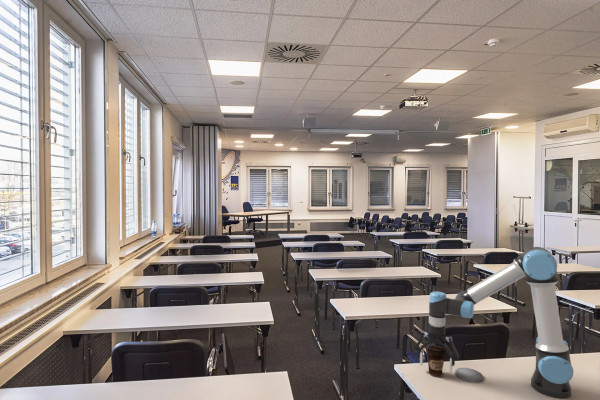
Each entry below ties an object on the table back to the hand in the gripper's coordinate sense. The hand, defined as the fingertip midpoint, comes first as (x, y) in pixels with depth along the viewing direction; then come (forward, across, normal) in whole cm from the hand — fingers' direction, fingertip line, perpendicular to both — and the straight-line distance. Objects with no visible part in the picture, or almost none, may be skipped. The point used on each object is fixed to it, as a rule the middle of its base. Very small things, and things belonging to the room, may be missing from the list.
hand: (435, 368), depth 177 cm
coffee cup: (+3, 0, 0) cm, 3 cm away
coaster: (+3, -14, -7) cm, 16 cm away
